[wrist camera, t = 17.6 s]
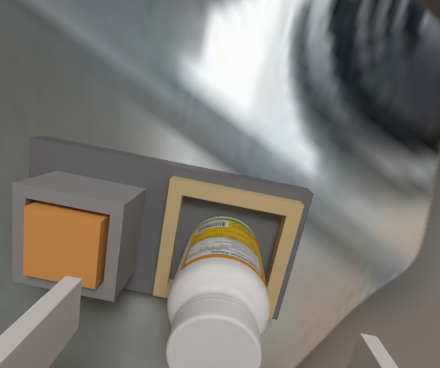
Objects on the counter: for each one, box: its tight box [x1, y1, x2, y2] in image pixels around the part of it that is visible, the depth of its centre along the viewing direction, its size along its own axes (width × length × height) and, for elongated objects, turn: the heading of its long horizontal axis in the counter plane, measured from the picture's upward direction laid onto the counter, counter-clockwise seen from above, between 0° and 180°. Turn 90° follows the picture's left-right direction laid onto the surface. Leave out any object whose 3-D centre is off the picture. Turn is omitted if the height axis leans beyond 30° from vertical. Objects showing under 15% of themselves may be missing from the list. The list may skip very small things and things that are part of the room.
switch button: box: [23, 201, 110, 289], centre depth 17 cm, size 5×5×4 cm
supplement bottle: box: [166, 216, 270, 368], centre depth 15 cm, size 5×5×10 cm
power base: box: [12, 136, 313, 320], centre depth 19 cm, size 21×11×6 cm, turn 79°
